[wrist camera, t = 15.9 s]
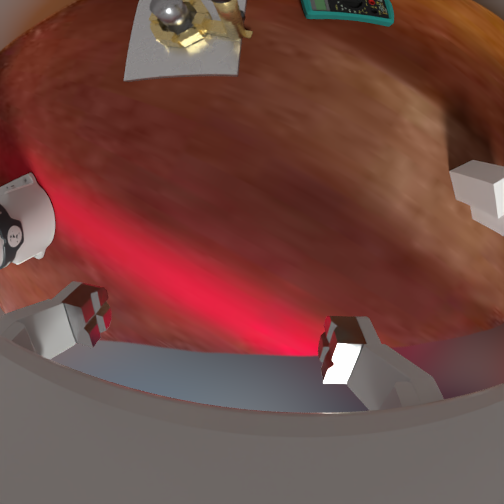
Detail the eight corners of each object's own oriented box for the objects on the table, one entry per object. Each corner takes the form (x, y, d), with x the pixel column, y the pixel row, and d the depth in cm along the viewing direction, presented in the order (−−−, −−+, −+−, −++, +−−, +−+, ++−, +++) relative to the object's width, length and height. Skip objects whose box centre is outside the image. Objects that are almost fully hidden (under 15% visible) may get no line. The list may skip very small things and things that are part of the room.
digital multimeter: (392, 28, 28) (399, 23, 26) (304, 20, 30) (306, 13, 27) (382, -4, 26) (388, -11, 23) (297, -13, 27) (298, -21, 24)
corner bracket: (448, 171, 36) (493, 184, 25) (487, 152, 34) (530, 162, 23) (460, 225, 40) (500, 249, 29) (496, 204, 37) (536, 222, 26)
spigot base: (127, 82, 34) (93, 71, 25) (143, -5, 28) (118, -29, 18) (249, 77, 34) (242, 57, 25) (259, -15, 27) (255, -48, 18)
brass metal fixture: (149, 44, 31) (105, 15, 18) (169, 2, 28) (134, -36, 15) (236, 58, 32) (220, 21, 19) (255, 13, 28) (248, -34, 16)
